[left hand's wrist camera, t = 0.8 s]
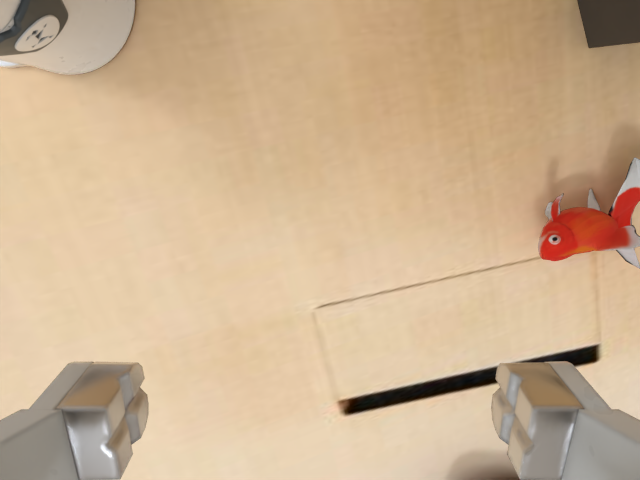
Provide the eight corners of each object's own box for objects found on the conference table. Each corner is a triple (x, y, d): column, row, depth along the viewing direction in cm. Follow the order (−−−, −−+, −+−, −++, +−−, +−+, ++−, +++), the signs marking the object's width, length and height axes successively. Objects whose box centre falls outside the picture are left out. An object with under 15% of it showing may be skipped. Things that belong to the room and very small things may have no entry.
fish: (524, 159, 43) (623, 213, 35) (634, 124, 48) (739, 164, 41) (499, 249, 49) (579, 309, 42) (598, 209, 55) (684, 256, 47)
